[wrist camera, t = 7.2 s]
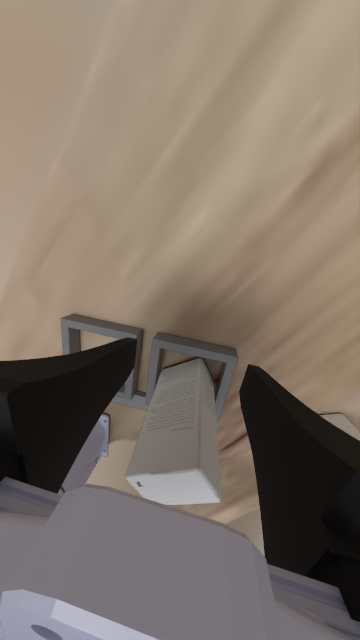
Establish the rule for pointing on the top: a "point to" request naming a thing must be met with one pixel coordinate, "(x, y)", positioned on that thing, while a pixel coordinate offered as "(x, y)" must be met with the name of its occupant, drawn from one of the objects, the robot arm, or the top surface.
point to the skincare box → (179, 440)
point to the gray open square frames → (160, 341)
